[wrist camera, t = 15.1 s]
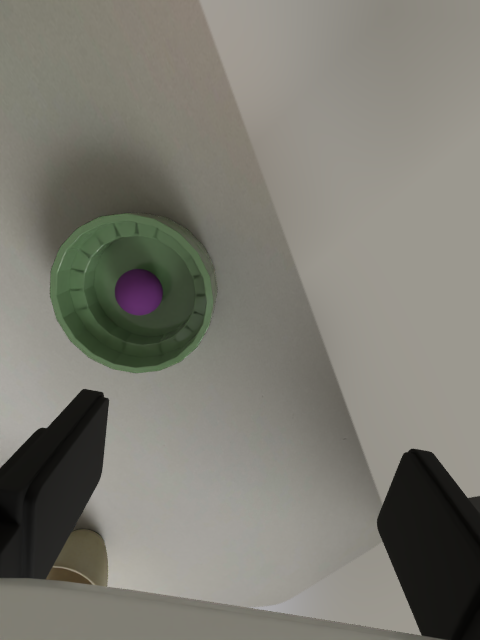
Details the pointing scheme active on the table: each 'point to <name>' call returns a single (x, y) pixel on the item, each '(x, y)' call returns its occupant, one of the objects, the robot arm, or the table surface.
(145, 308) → the ball
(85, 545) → the flower pot
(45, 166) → the table surface
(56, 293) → the bowl
